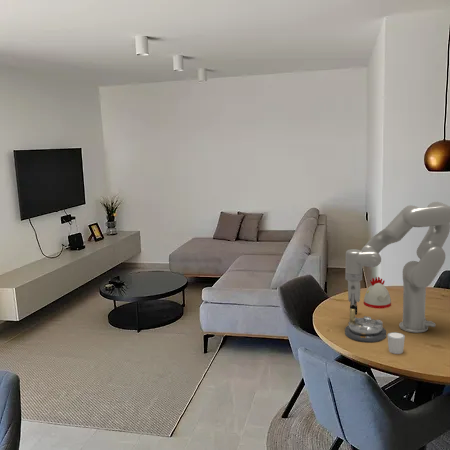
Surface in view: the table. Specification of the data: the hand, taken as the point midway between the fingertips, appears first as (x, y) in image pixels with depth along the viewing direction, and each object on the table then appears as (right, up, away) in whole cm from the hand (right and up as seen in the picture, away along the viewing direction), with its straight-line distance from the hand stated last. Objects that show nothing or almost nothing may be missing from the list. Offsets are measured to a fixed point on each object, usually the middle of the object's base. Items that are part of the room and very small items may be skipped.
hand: (353, 313), depth 226 cm
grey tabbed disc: (+4, -6, -6) cm, 9 cm away
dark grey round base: (+4, -8, -6) cm, 11 cm away
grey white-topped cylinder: (+11, -11, -24) cm, 29 cm away
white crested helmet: (+21, -1, +33) cm, 39 cm away
